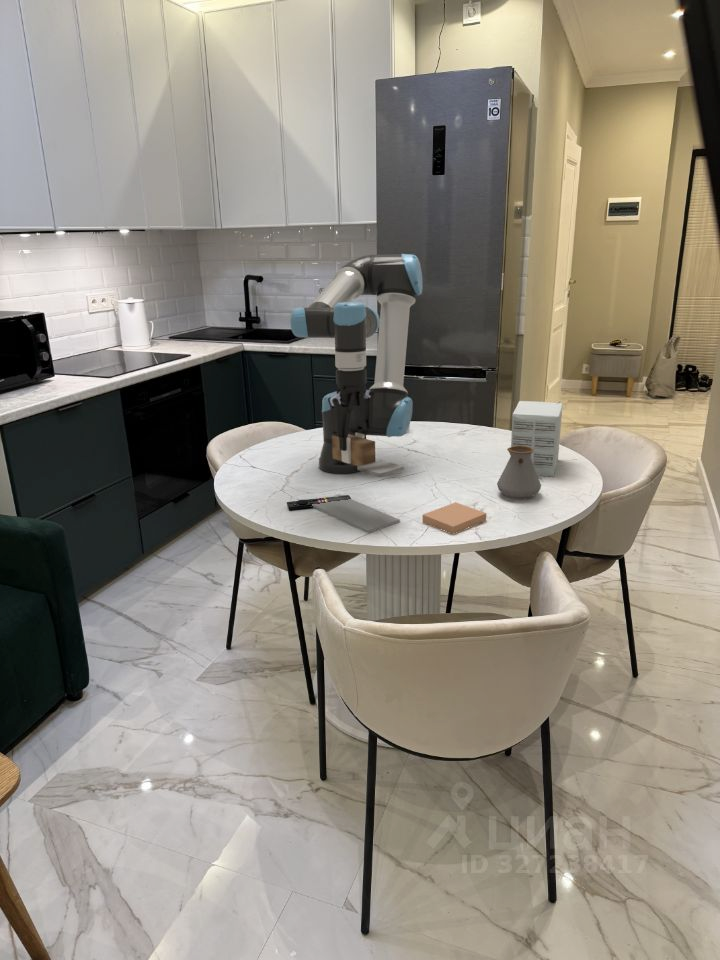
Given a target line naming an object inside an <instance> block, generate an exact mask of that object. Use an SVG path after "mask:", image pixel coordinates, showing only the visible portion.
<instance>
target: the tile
mask: <svg viewBox="0 0 720 960" xmlns="http://www.w3.org/2000/svg"><path fill="white" fill-rule="evenodd" d="M483 521H484V522H486V521H487V512H484V511H481V510H478V509H476V508H473V507H471V506H467V505H465V504H462V503H459V502H457V501H456V502H453V503H449V504H447V505H445V506H441V507H440V508H436V509H434V510H431V511H429V512H426V513H423V514H422V523H423V524H425V523H426V525H428V526H430V525H431V526H430V527H433V526H434V527H433V528H435V527H436V529H438V528H439V529H438V530H440V529H442V530H441V531H443V530H445V531H447V532H446V533H448V532H450V533H451V535H455V534H457V533H456V532H458V533H460V532H463V531H465V530H467V529H469V528H468V527H470V528H472V527H474V525H475V526H477V525H479V524H481V522H482V523H483ZM476 524H477V525H476ZM471 526H472V527H471ZM466 528H467V529H466ZM464 529H465V530H464ZM462 530H463V531H462ZM445 531H444V532H445ZM459 531H460V532H459ZM450 533H449V534H450ZM454 533H455V534H454Z"/></svg>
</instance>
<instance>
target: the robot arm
mask: <svg viewBox="0 0 720 960" xmlns="http://www.w3.org/2000/svg"><path fill="white" fill-rule="evenodd" d="M422 271H423V270H422V267H421V262H420V260H419V258H418V256H416V255H415V254H409V253H408V254H407V253H401V254H399V253H398V254H397V253H396V254H394V253H393V254H365V255H362V256H358V257H357V258H354V259H352V260H349V262H347V263H345V264H343V265H342V266H341V267H340V268H339V269H338V270H337V271H336V272H335V273H334V276H333V279H332V282H330V284H329V285H327V287H326V288H325V289H324V290H323V291H322V292H321V293H320V294H319V295H318V296H317V297H316V298H315V300H314V301H313V302H312V303H311V304H310V305H309V306H308V307H305V306H302V307H296V308H294V309H293V310H292V312H291V313H290V314H291V315H290V322H289V323H290V329H291V332H292V334H293V336H295V337H297V338H306V339H317V338H318V339H334V357H335V358H334V359H335V361H334V364H335V365H334V366H335V367H336V370H335V383H336V385H337V391H334V392H333V391H332V392H330V393H327V394H326V395H324V397H323V398H322V403H321V404H322V406H321V415H322V417H321V419H322V433H323V436H322V437H323V445H322V448H321V451H320V456H319V458H318V468H319V469H320V470H321V471H323V472H325V473H331V474H352V473H353V474H354V473H358V472H361V471H360V470H358V469H357V467H358V466H356V465H352V464H349V463H351V445H350V438H349V437H348V434H349V435H353V436H357V437H360V438H364V439H367V436H374V437H375V436H377V437H379V436H380V437H387V438H392V437H402V436H404V435H405V434H407V433H406V431H407V430H408V427H409V425H411V422H412V421H411V420H412V416H413V405H414V403H413V400H412V398H411V397H409V396H408V395H409V393H408V390H407V389H406V388H405V386H404V382H405V381H404V380H405V367H406V359H407V358H406V356H407V345H408V344H407V343H408V333H409V323H410V322H409V321H410V308H411V306H413V305H414V304H415V303H416V300H417V297H418V296H420V295H422V293H423V284H424V283H423V272H422ZM361 296H376V301H377V302H378V303H379V304H380V314H378V312H377V311H376V310H375V309H374V308H372V307H370V306H366V305H365V304H364V303H363V302H360V301H352V300H355V299H357V298H359V297H361ZM377 331H378V337H377V348H376V360H375V362H376V363H375V371H374V372H375V373H374V384H373V385H371V386H370V387H369V389H367V387H366V384H367V383H368V380H367V379H368V377H367V376H368V375H367V372H368V371H367V369H366V368H365V367H367V338H369V337H372V336H373V335H374V334H375V333H377ZM332 436H336V437H339V448H340V450H341V453H342V461H340V460H336V459H333V453H332Z"/></svg>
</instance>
